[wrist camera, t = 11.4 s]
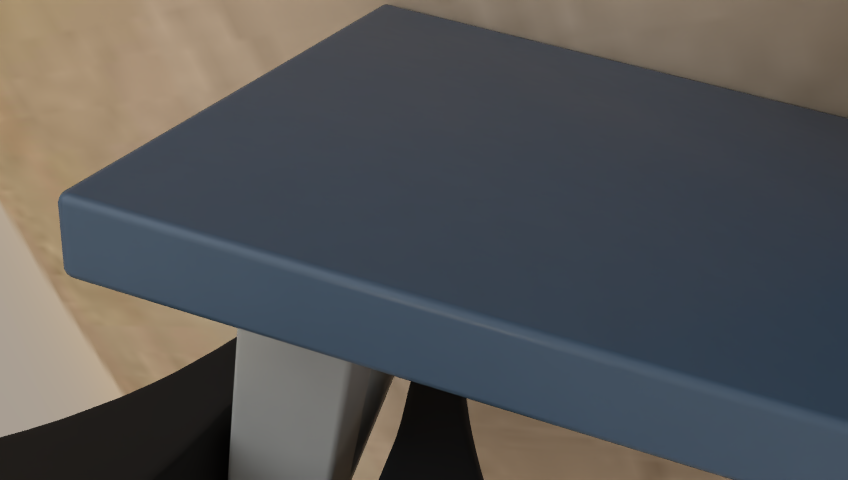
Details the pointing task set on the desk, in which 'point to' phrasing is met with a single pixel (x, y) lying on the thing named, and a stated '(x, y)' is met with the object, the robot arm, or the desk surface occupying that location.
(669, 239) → the cabinet door
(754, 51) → the desk surface
